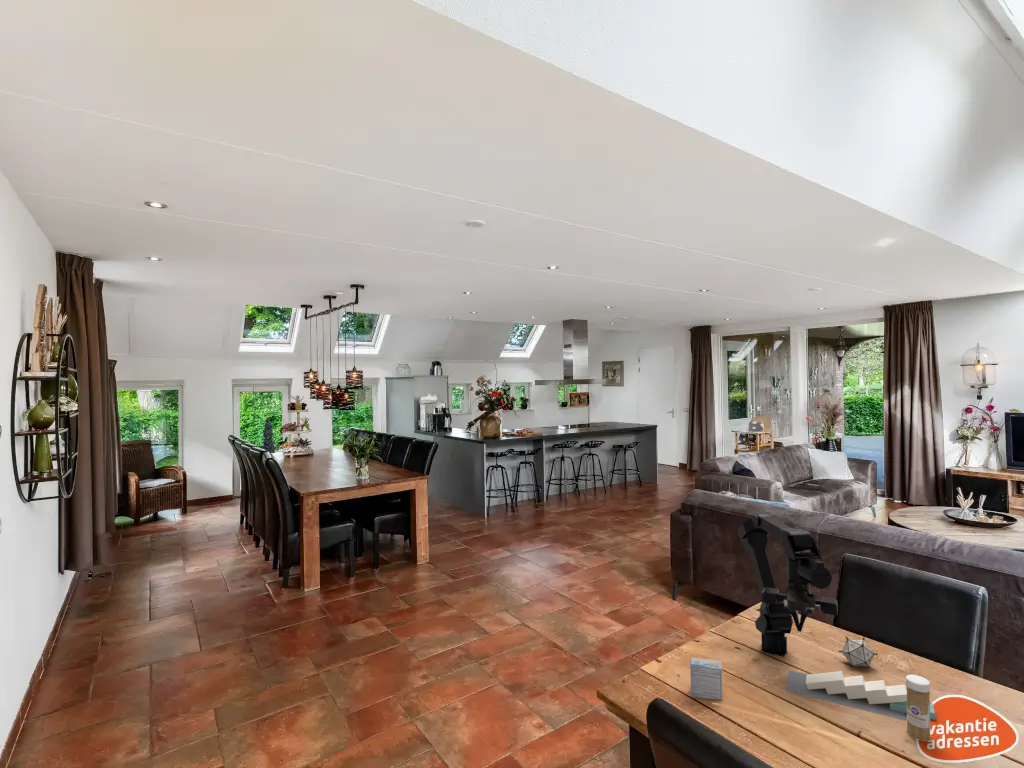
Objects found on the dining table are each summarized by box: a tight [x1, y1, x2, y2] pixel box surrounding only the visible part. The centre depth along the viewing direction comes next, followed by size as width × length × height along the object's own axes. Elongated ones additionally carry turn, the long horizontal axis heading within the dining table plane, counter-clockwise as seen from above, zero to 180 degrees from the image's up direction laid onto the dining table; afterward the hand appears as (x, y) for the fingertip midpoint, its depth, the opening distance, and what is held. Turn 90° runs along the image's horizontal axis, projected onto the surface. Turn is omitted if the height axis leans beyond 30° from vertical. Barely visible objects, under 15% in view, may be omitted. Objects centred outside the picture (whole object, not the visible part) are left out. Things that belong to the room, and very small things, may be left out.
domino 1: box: [806, 670, 846, 690], centre depth 145 cm, size 2×5×9 cm
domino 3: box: [846, 679, 888, 699], centre depth 140 cm, size 2×5×9 cm
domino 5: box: [889, 701, 936, 721], centre depth 135 cm, size 2×5×9 cm
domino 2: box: [826, 675, 866, 694], centre depth 142 cm, size 2×5×9 cm
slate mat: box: [785, 669, 907, 721], centre depth 143 cm, size 26×12×1 cm, turn 59°
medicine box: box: [689, 657, 724, 701], centre depth 144 cm, size 8×4×9 cm, turn 71°
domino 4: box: [867, 684, 907, 704], centre depth 138 cm, size 2×5×9 cm
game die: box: [838, 635, 879, 668], centre depth 157 cm, size 9×8×10 cm
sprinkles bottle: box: [905, 674, 932, 742], centre depth 125 cm, size 5×5×14 cm
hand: (799, 630), depth 153 cm, fingers closed
